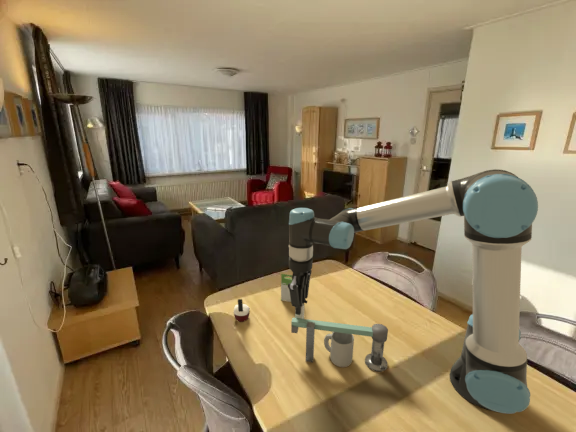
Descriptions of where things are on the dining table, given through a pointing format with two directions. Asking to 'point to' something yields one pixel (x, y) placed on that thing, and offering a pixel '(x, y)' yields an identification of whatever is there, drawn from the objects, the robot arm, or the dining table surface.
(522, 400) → the robot arm
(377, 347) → the grey flanged post
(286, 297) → the ink box
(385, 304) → the dining table surface
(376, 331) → the bar
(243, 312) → the cocoa
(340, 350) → the cup
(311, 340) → the post
